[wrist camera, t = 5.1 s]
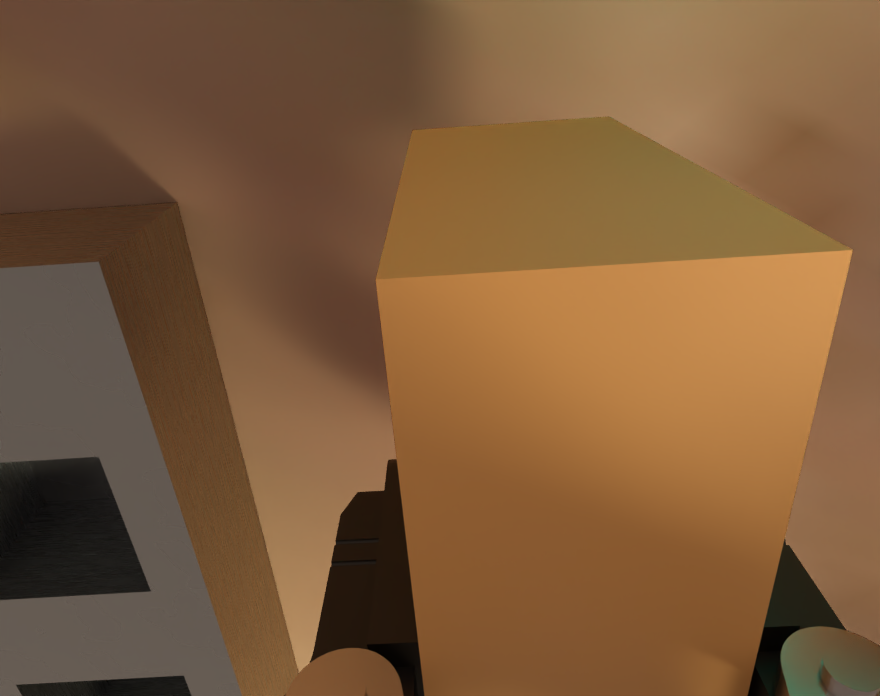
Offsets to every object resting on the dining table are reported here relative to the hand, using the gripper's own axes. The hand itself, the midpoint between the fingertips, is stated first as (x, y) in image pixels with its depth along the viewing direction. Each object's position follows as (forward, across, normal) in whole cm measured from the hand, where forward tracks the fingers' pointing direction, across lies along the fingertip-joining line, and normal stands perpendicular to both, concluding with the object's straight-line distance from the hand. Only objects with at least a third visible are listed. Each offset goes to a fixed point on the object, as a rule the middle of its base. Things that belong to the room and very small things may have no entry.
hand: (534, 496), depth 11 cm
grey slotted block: (+8, +12, +8) cm, 17 cm away
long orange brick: (+4, 0, 0) cm, 4 cm away
